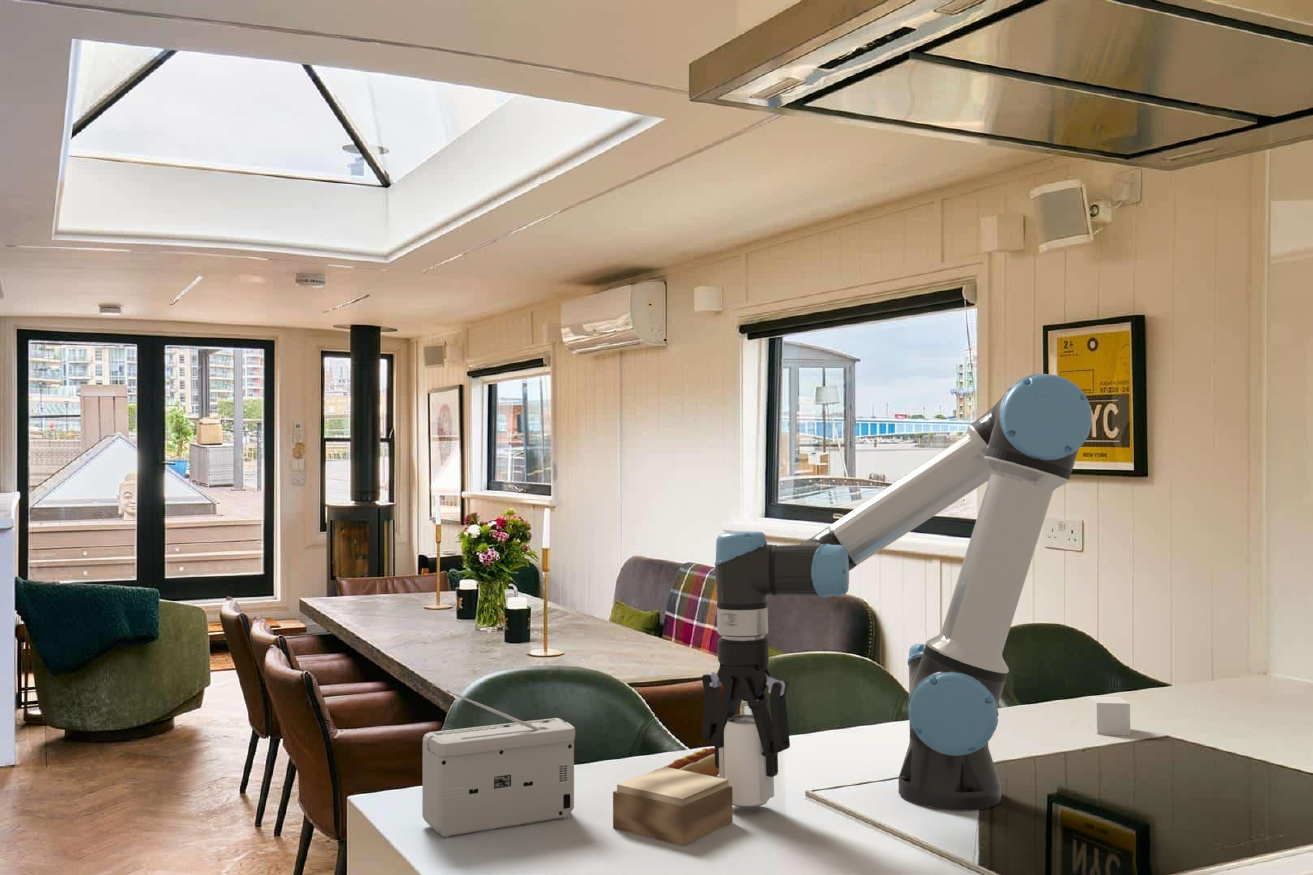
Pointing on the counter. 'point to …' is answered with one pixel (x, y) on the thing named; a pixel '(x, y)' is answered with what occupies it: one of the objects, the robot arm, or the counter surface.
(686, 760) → the food
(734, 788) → the can
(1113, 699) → the grey cube
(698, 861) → the counter surface
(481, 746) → the stereo radio cassette player
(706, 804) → the pedestal
